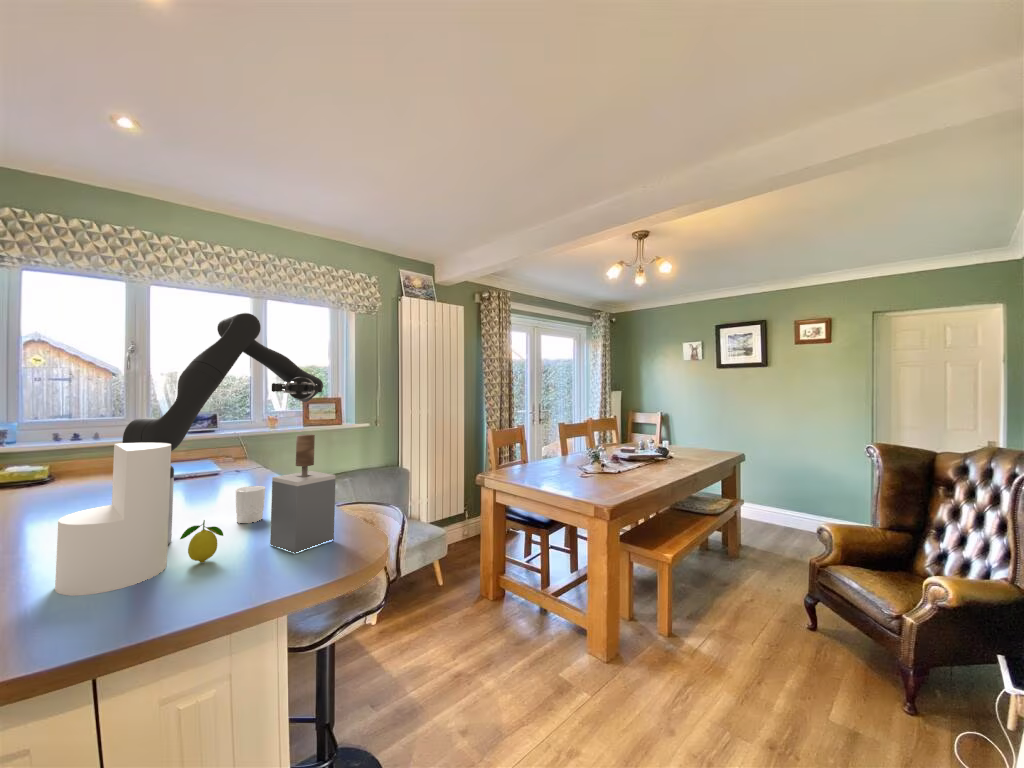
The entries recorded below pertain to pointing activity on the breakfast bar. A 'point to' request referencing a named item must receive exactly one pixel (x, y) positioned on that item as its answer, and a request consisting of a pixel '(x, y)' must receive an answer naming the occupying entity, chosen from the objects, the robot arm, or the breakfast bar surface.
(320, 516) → the grey upright block
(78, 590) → the white stepped oval block
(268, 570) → the breakfast bar surface
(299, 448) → the plunger
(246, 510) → the white cup
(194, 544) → the lemon
